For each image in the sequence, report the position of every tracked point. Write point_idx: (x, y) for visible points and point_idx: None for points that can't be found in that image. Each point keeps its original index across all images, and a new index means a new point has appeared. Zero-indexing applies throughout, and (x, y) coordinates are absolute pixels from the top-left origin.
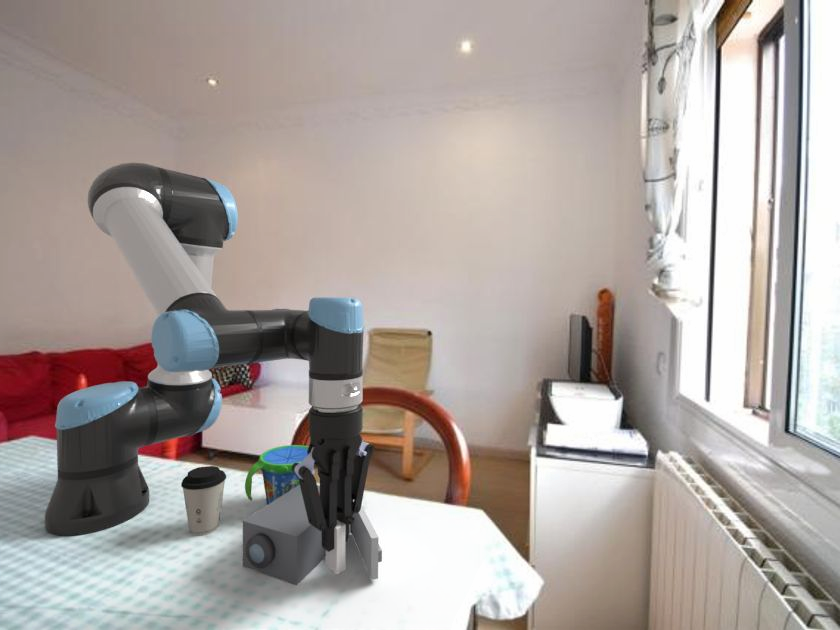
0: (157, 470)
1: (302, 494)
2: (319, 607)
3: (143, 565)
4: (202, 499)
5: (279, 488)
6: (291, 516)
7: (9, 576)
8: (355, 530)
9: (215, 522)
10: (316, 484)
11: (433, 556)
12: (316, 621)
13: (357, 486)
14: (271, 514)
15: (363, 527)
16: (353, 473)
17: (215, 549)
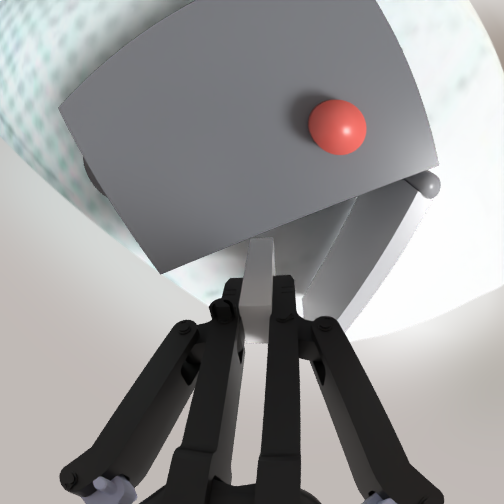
0: None
1: (123, 403)
2: (209, 280)
3: (27, 31)
4: None
5: None
6: (176, 165)
7: None
8: (368, 206)
9: None
10: (150, 465)
11: (413, 303)
12: (196, 296)
13: (331, 414)
14: (125, 111)
15: (340, 303)
16: (348, 432)
17: (104, 17)
